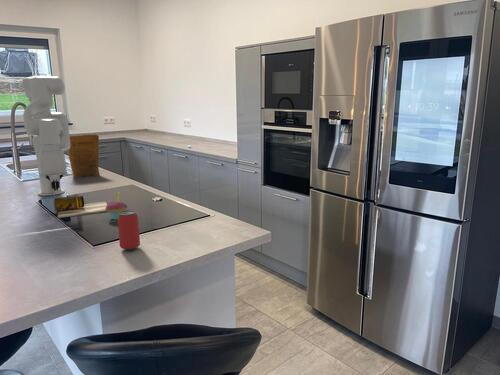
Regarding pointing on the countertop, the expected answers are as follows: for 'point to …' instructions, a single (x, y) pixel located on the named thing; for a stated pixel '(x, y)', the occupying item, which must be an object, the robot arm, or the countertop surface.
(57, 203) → the condiment
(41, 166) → the robot arm
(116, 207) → the cupcake
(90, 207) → the cutting board
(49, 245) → the countertop surface
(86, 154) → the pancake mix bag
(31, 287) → the countertop surface
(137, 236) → the beer can
